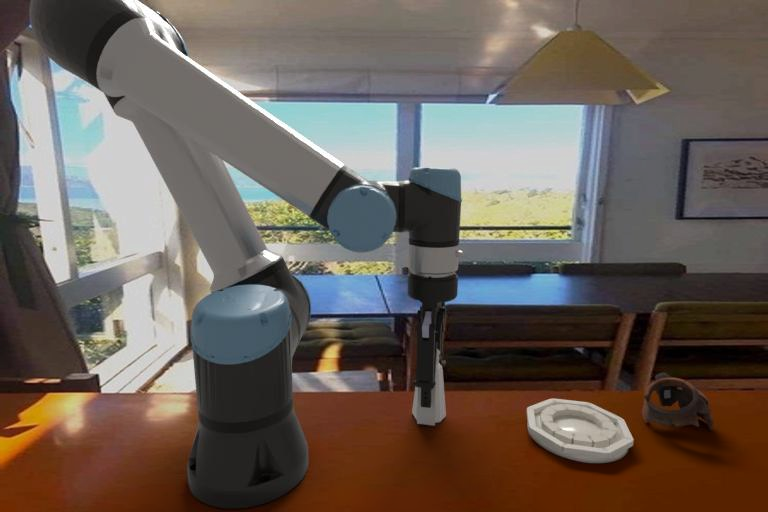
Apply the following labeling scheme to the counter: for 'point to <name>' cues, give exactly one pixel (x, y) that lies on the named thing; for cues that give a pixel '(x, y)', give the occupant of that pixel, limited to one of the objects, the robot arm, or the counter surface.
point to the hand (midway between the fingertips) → (428, 413)
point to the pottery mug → (688, 401)
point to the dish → (578, 431)
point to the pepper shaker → (439, 394)
